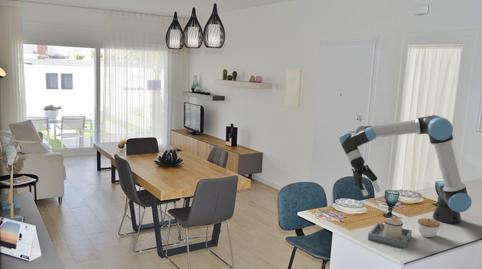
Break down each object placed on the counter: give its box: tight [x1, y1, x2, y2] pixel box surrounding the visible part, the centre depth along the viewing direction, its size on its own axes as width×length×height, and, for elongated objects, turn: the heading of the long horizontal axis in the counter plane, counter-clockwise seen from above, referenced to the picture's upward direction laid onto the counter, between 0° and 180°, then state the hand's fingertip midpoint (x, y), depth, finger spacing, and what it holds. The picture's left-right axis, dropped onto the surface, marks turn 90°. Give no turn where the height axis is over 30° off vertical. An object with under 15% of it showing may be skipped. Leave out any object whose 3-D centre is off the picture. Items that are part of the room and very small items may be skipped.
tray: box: [367, 222, 413, 249], centre depth 217 cm, size 18×18×4 cm
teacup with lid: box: [380, 215, 404, 240], centre depth 216 cm, size 12×9×12 cm
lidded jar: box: [417, 217, 441, 238], centre depth 222 cm, size 11×11×9 cm
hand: (372, 193), depth 229 cm, fingers open, 13 cm apart
